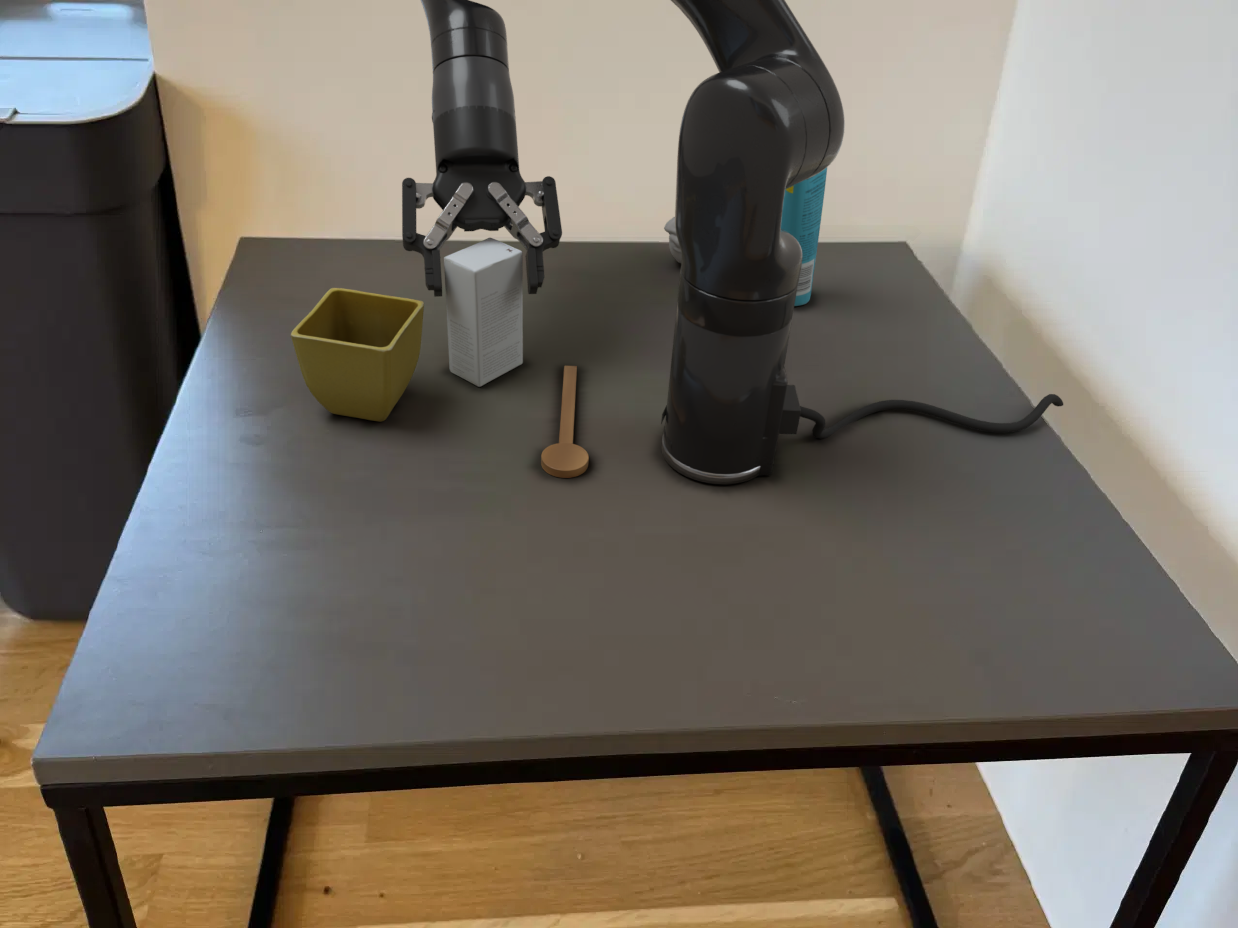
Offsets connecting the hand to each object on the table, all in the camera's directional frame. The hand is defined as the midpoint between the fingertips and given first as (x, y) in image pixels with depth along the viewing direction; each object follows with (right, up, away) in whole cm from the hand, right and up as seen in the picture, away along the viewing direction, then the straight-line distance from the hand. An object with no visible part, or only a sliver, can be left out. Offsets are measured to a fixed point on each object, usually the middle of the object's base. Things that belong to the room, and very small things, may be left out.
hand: (486, 293), depth 99 cm
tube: (+30, +3, +22) cm, 37 cm away
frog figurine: (+20, +7, +27) cm, 35 cm away
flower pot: (-11, -10, 0) cm, 15 cm away
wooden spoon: (+7, -12, -1) cm, 14 cm away
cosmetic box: (-1, -6, +7) cm, 9 cm away
